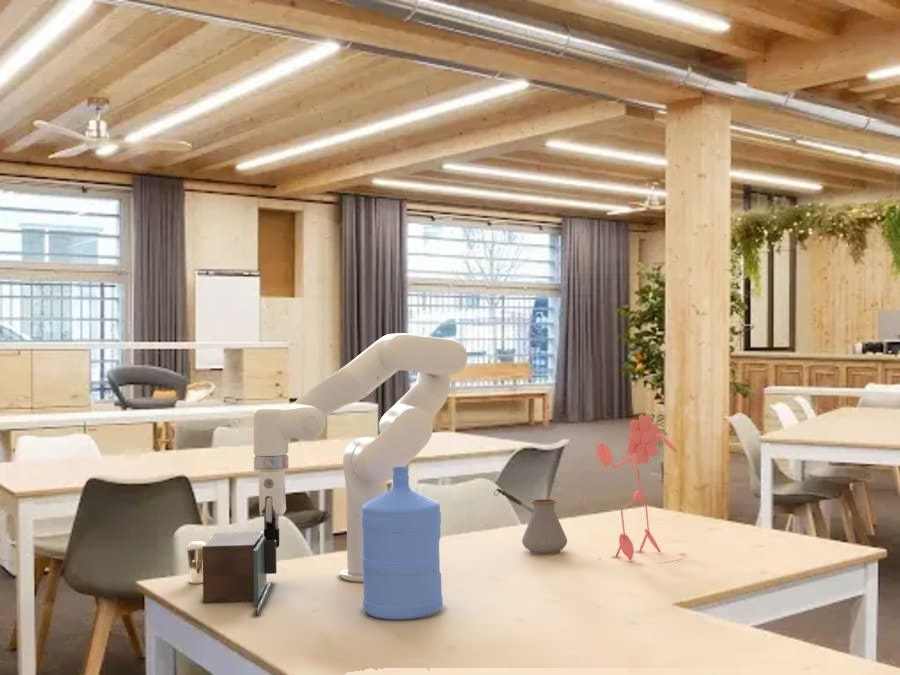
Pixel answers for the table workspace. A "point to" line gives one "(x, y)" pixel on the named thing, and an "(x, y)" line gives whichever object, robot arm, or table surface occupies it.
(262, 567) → the glass door
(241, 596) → the cabinet
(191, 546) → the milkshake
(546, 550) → the coffee pot
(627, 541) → the figurine
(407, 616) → the water jug
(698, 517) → the table surface
